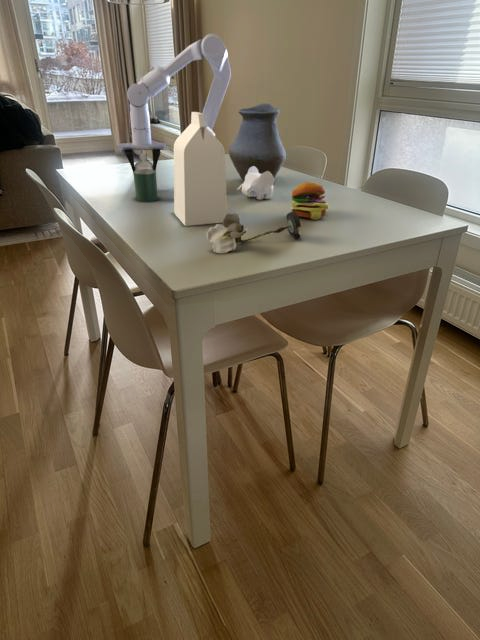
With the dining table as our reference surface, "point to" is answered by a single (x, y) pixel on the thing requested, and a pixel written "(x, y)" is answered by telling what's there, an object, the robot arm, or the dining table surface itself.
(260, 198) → the elephant figurine
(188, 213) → the milk
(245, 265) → the dining table surface
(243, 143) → the grey clay vase
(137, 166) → the eye dropper bottle
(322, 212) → the cheeseburger
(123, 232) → the dining table surface
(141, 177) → the green tin can
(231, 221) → the artificial flower
